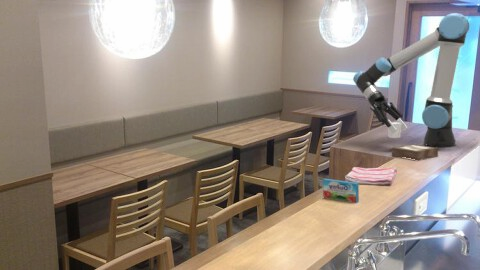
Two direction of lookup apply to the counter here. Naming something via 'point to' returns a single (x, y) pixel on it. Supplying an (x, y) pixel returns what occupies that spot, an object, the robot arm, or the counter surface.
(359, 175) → the dish towel
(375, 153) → the counter surface
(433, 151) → the block
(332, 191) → the blue flat box
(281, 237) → the counter surface
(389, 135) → the white cup
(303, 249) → the counter surface
